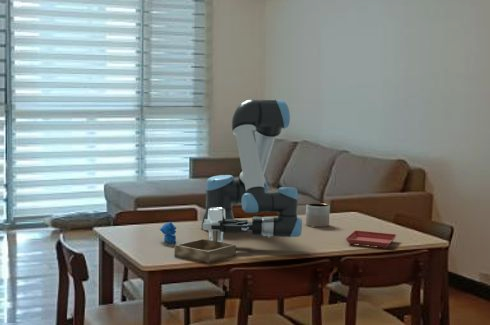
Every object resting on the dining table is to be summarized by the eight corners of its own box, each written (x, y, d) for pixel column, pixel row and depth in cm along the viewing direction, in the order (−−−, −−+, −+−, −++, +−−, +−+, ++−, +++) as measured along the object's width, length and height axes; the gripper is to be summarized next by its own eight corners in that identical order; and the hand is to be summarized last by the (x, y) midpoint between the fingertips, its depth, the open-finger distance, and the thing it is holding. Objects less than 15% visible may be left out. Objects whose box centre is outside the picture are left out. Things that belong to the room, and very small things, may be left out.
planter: (333, 225, 351) (334, 204, 350) (322, 228, 342) (323, 207, 341) (312, 222, 357) (313, 202, 356) (301, 225, 348) (302, 204, 347)
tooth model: (206, 244, 301) (207, 207, 300) (224, 244, 302) (225, 207, 300) (207, 248, 294) (208, 210, 293) (225, 248, 295) (226, 210, 293)
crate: (174, 255, 280) (174, 245, 280) (202, 248, 293) (202, 238, 293) (207, 262, 271) (208, 251, 270) (235, 255, 283) (235, 244, 283)
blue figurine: (171, 222, 311) (183, 220, 301) (172, 242, 310) (184, 241, 300) (155, 223, 307) (167, 222, 298) (156, 244, 307) (168, 243, 297)
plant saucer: (389, 250, 301) (389, 242, 301) (344, 246, 308) (345, 238, 307) (396, 242, 318) (397, 234, 318) (354, 237, 325) (354, 230, 324)
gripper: (262, 241, 287) (201, 239, 288) (261, 230, 307) (205, 229, 307) (262, 221, 287) (202, 219, 287) (262, 212, 306) (205, 210, 307)
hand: (203, 224), depth 297 cm, fingers closed on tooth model, 7 cm apart
